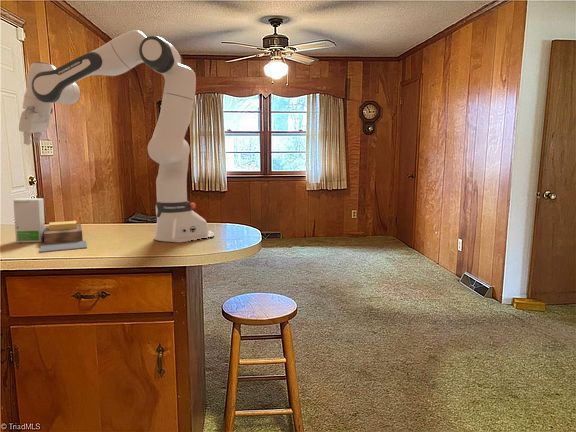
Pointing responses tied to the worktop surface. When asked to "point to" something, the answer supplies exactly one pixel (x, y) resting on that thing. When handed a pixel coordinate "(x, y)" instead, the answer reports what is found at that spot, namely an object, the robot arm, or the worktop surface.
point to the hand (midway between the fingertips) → (31, 143)
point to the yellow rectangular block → (62, 225)
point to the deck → (63, 235)
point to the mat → (63, 246)
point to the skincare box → (29, 219)
